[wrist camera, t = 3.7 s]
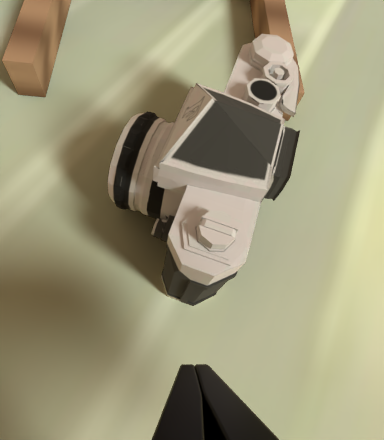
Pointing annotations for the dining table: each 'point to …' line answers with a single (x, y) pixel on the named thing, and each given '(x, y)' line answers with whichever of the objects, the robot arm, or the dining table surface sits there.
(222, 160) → the camera
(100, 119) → the dining table surface
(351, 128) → the dining table surface
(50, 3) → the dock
